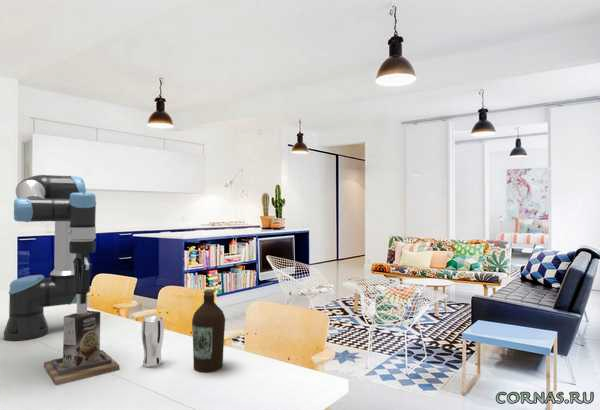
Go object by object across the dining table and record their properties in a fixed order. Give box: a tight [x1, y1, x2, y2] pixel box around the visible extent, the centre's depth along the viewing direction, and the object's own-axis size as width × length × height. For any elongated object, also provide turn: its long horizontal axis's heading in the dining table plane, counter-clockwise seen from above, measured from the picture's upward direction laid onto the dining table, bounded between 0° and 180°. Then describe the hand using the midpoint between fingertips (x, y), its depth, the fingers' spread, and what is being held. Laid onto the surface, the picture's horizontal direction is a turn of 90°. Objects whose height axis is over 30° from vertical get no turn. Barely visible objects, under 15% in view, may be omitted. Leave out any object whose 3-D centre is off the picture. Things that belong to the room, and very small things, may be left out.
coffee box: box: [62, 310, 101, 368], centre depth 136 cm, size 9×6×16 cm
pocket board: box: [43, 349, 120, 386], centre depth 135 cm, size 18×18×3 cm
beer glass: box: [141, 316, 165, 368], centre depth 140 cm, size 7×7×15 cm
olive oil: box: [191, 289, 226, 373], centre depth 138 cm, size 11×11×25 cm
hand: (81, 313), depth 135 cm, fingers closed
